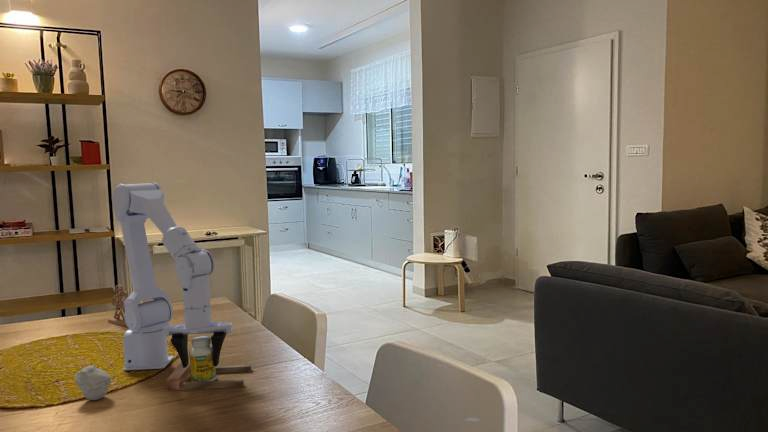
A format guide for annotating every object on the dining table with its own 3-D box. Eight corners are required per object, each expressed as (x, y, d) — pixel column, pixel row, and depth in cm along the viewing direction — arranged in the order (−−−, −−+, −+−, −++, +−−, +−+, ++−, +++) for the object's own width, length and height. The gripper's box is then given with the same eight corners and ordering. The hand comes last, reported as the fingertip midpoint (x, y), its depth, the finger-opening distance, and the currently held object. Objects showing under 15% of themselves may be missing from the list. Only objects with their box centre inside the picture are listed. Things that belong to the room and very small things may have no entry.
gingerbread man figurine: (107, 322, 180) (104, 284, 179) (119, 319, 183) (116, 282, 182) (123, 326, 175) (121, 287, 174) (135, 322, 178) (132, 284, 177)
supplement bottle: (212, 374, 133) (209, 333, 132) (219, 381, 128) (216, 339, 127) (188, 379, 130) (185, 338, 129) (194, 386, 125) (192, 344, 125)
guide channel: (167, 390, 124) (166, 379, 124) (181, 372, 134) (181, 362, 134) (242, 386, 125) (242, 375, 124) (251, 369, 135) (250, 359, 135)
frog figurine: (86, 393, 123) (84, 361, 123) (118, 393, 123) (116, 361, 122) (70, 405, 117) (67, 372, 117) (104, 405, 117) (101, 371, 116)
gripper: (157, 311, 123) (162, 373, 124) (226, 308, 124) (229, 370, 125) (168, 303, 130) (172, 362, 131) (233, 301, 131) (236, 359, 132)
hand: (200, 365), depth 129 cm, fingers open, 6 cm apart
